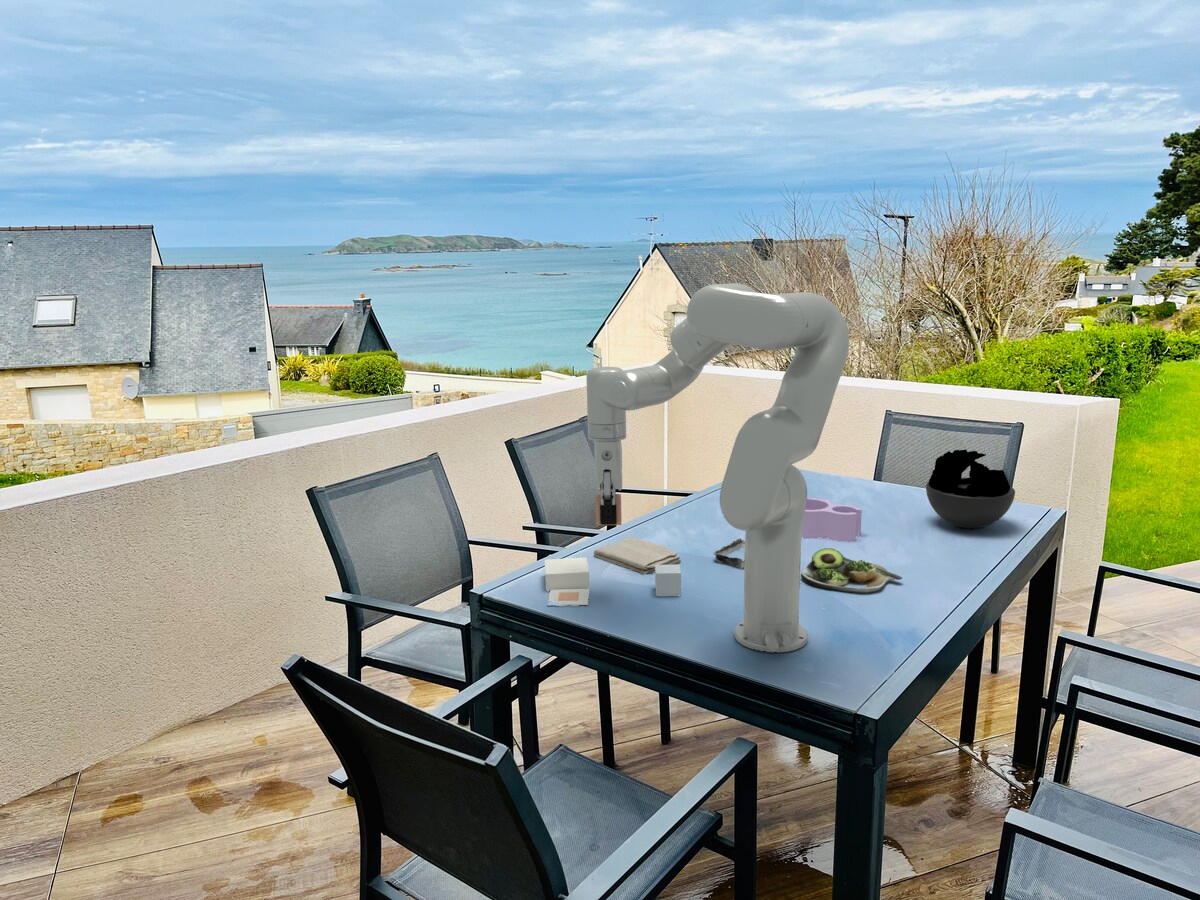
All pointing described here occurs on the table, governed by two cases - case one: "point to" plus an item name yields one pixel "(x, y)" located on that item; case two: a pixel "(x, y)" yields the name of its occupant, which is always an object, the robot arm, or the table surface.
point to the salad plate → (844, 573)
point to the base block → (567, 573)
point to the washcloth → (637, 555)
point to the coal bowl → (968, 490)
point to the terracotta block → (618, 508)
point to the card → (569, 596)
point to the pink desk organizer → (831, 520)
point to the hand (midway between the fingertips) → (608, 518)
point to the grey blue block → (668, 580)
